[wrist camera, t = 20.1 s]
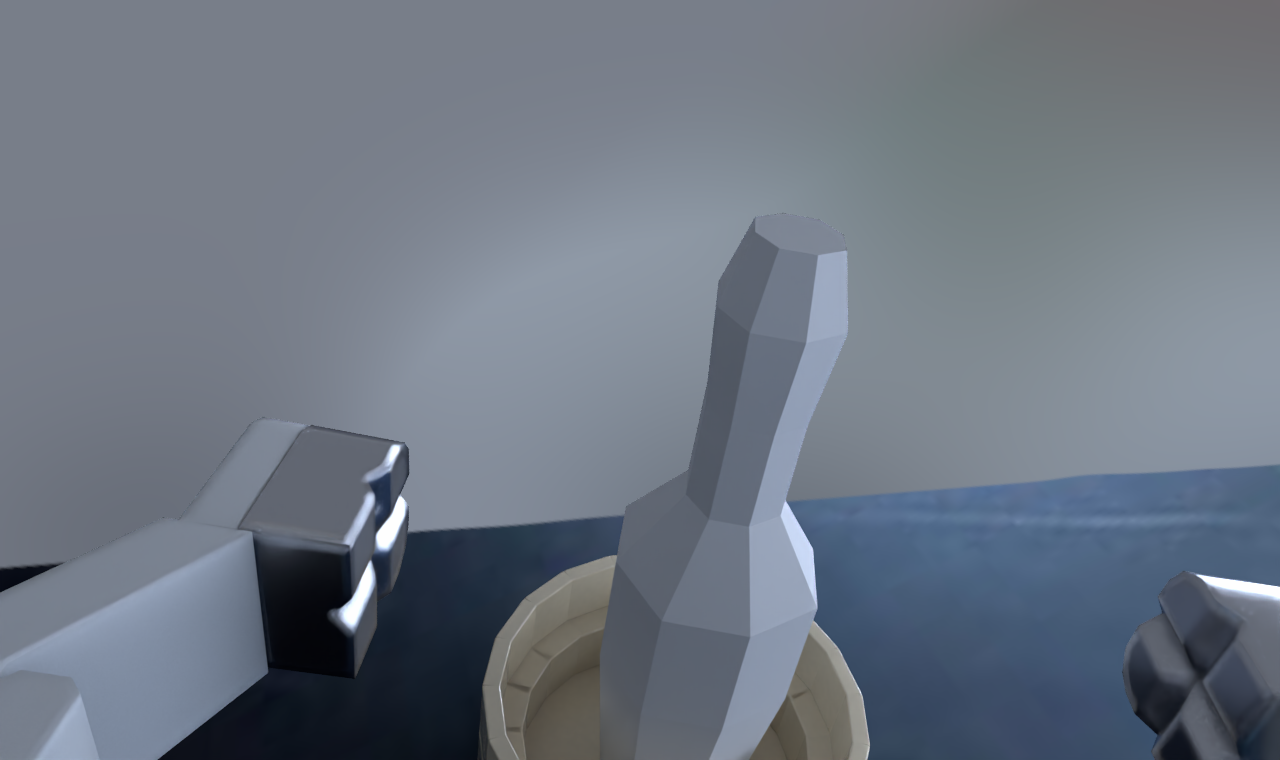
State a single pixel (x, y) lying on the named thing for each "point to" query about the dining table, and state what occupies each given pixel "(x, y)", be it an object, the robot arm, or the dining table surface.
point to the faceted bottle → (728, 519)
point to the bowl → (570, 683)
